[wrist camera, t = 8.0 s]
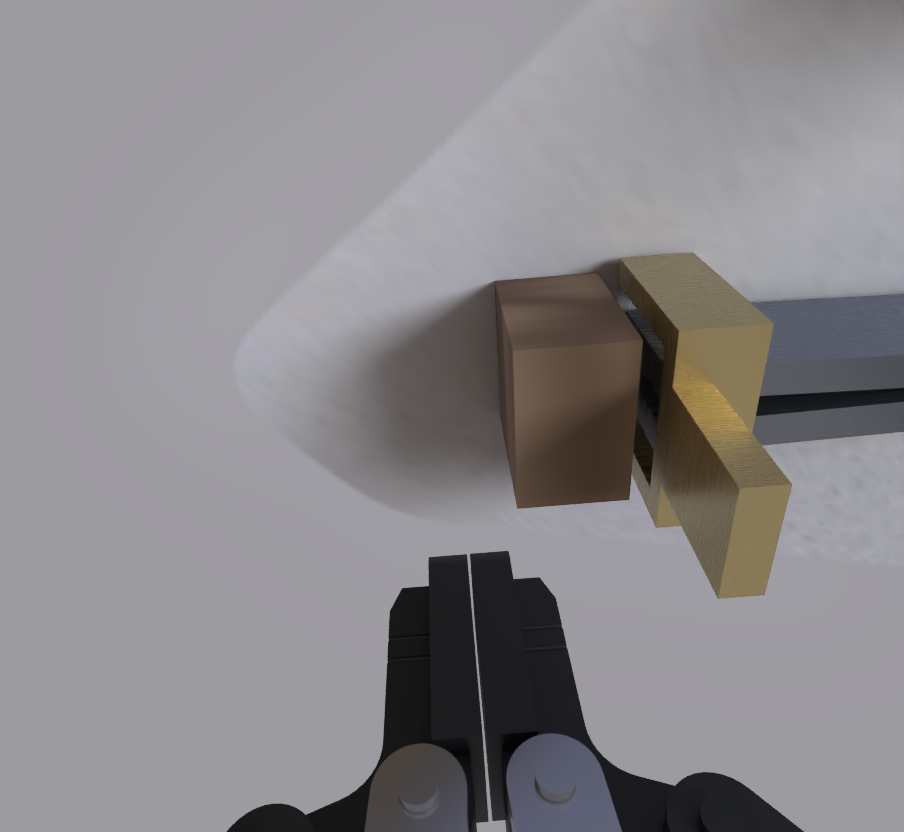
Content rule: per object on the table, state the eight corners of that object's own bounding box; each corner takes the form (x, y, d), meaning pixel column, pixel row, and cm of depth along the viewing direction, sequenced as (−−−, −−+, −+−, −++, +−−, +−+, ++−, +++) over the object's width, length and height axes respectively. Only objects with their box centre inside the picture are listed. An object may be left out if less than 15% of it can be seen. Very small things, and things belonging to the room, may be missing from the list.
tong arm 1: (620, 387, 22) (656, 455, 18) (621, 360, 21) (658, 425, 18) (1105, 339, 21) (1233, 399, 18) (1118, 310, 21) (1253, 367, 18)
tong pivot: (500, 417, 23) (517, 508, 19) (494, 281, 20) (512, 350, 16) (591, 410, 23) (629, 499, 19) (597, 272, 20) (642, 340, 16)
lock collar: (609, 425, 23) (708, 644, 15) (619, 258, 20) (752, 422, 12) (672, 419, 23) (805, 637, 15) (692, 252, 20) (875, 412, 12)
